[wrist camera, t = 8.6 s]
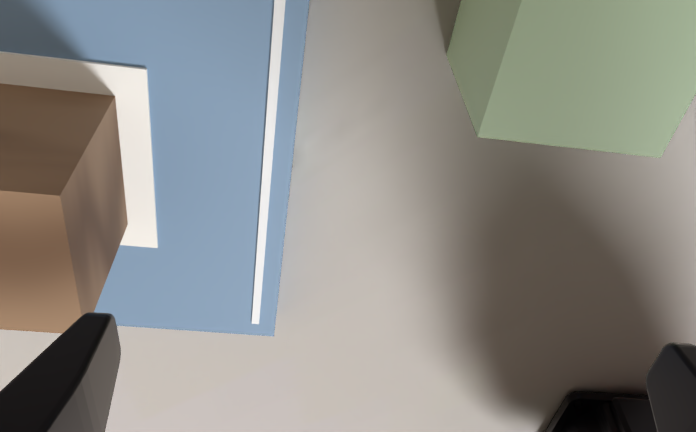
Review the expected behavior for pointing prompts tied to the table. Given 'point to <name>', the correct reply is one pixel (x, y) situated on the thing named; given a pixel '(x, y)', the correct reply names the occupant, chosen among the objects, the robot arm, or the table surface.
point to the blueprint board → (182, 143)
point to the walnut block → (57, 204)
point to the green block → (577, 71)
